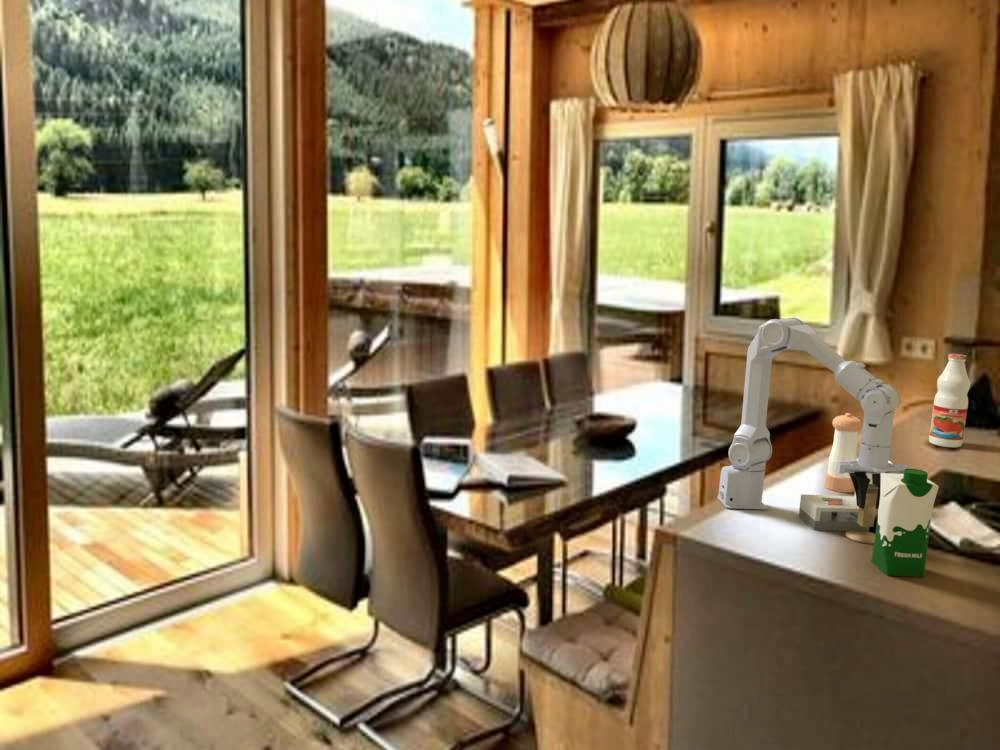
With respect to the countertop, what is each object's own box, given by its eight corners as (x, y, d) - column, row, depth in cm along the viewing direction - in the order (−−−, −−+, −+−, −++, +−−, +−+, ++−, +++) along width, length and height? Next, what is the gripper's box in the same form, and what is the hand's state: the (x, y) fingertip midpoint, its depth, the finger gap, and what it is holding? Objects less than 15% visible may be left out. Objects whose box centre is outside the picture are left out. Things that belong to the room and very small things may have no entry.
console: (814, 529, 194) (816, 507, 193) (798, 515, 203) (801, 494, 202) (868, 531, 194) (871, 509, 193) (851, 517, 203) (853, 496, 202)
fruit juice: (959, 442, 283) (972, 354, 278) (963, 449, 274) (977, 358, 269) (926, 438, 286) (938, 351, 281) (929, 445, 277) (942, 355, 272)
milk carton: (884, 577, 169) (898, 474, 165) (864, 559, 178) (876, 460, 174) (931, 579, 169) (945, 476, 166) (908, 561, 178) (921, 462, 175)
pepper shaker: (857, 493, 222) (867, 417, 219) (826, 490, 223) (835, 414, 220) (852, 485, 229) (861, 411, 226) (822, 482, 230) (830, 409, 227)
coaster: (854, 543, 187) (854, 541, 187) (840, 531, 194) (840, 529, 193) (887, 544, 187) (887, 542, 187) (872, 532, 194) (872, 530, 194)
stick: (861, 526, 188) (866, 487, 187) (856, 522, 191) (861, 483, 189) (873, 526, 189) (878, 487, 187) (868, 522, 191) (873, 483, 190)
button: (830, 516, 197) (831, 505, 196) (824, 511, 200) (826, 500, 199) (843, 516, 197) (845, 505, 196) (838, 512, 200) (839, 501, 199)
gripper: (848, 447, 182) (841, 512, 185) (919, 450, 183) (910, 514, 185) (834, 438, 189) (827, 501, 192) (902, 441, 190) (894, 503, 192)
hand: (867, 507), depth 189 cm, fingers closed on stick, 2 cm apart
